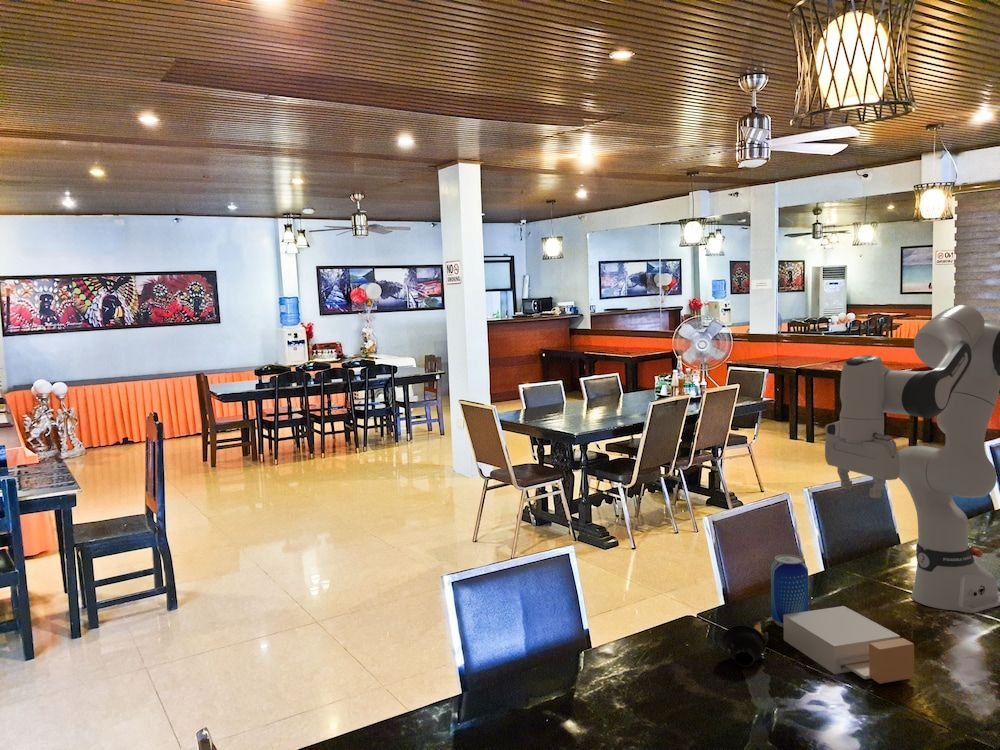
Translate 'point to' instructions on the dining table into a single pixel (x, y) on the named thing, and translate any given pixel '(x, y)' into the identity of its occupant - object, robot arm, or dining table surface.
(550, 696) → the dining table surface
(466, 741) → the dining table surface
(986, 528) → the dining table surface
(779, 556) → the beer can
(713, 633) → the dining table surface
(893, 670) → the tan-tipped white bar
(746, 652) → the fried shrimp in bowl
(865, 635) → the block
